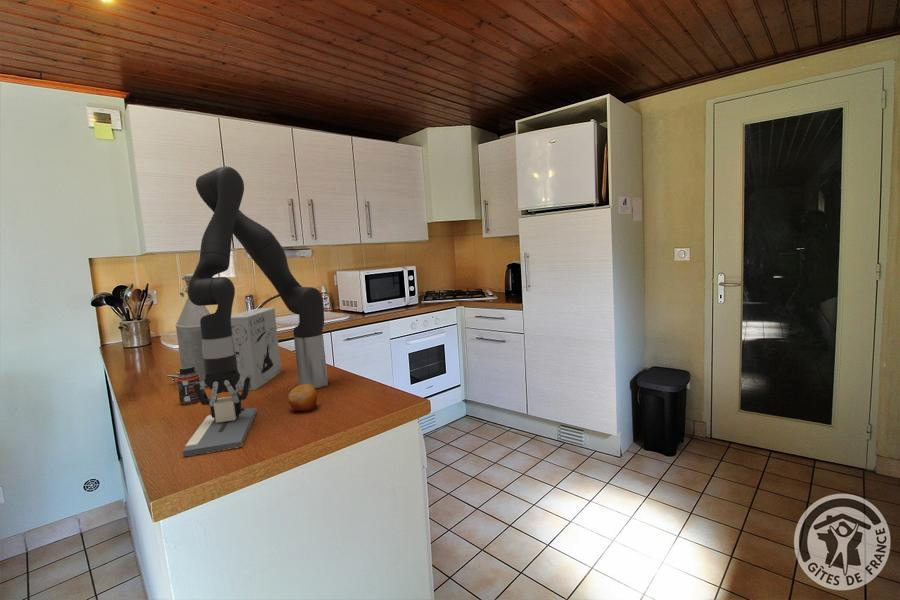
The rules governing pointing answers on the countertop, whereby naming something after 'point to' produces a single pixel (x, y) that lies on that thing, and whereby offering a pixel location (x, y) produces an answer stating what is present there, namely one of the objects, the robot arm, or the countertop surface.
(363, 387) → the countertop surface
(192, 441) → the board
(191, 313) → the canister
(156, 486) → the countertop surface
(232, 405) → the tab
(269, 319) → the cereal box
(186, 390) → the supplement bottle
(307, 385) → the fruit
